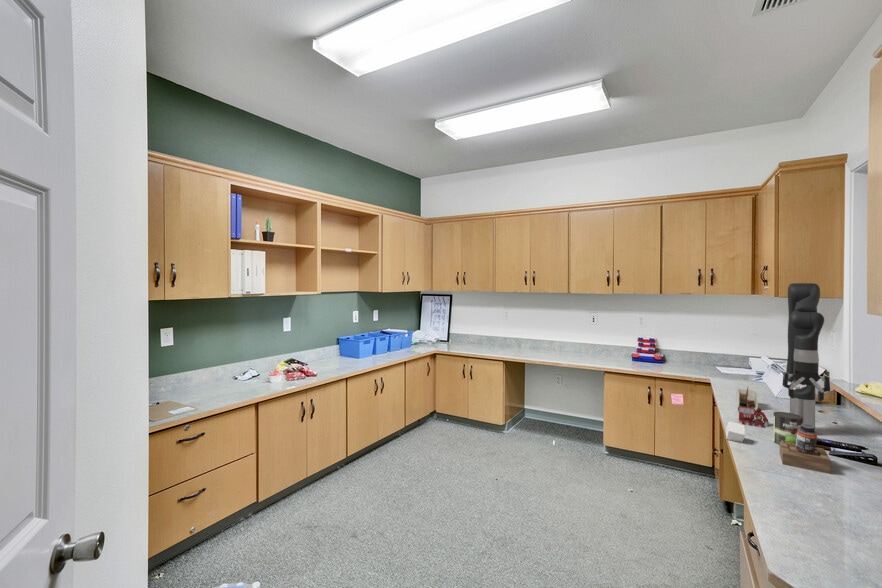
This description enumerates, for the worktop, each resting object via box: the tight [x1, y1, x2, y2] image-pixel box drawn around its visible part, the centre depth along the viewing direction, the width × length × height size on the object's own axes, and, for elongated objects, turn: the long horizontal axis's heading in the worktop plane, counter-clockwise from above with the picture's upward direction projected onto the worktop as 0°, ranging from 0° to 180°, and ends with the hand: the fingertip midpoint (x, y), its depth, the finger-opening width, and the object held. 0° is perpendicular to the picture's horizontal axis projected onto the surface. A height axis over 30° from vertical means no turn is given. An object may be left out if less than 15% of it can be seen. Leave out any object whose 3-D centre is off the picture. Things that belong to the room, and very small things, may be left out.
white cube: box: [725, 421, 746, 443], centre depth 184 cm, size 6×6×6 cm
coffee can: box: [772, 411, 803, 446], centre depth 179 cm, size 10×10×14 cm
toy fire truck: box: [737, 405, 769, 429], centre depth 203 cm, size 7×12×10 cm, turn 56°
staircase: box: [735, 387, 759, 410], centre depth 230 cm, size 9×11×17 cm
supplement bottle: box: [796, 423, 818, 454], centre depth 160 cm, size 6×6×11 cm
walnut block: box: [779, 441, 832, 475], centre depth 161 cm, size 14×14×6 cm
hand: (805, 399), depth 161 cm, fingers open, 8 cm apart
